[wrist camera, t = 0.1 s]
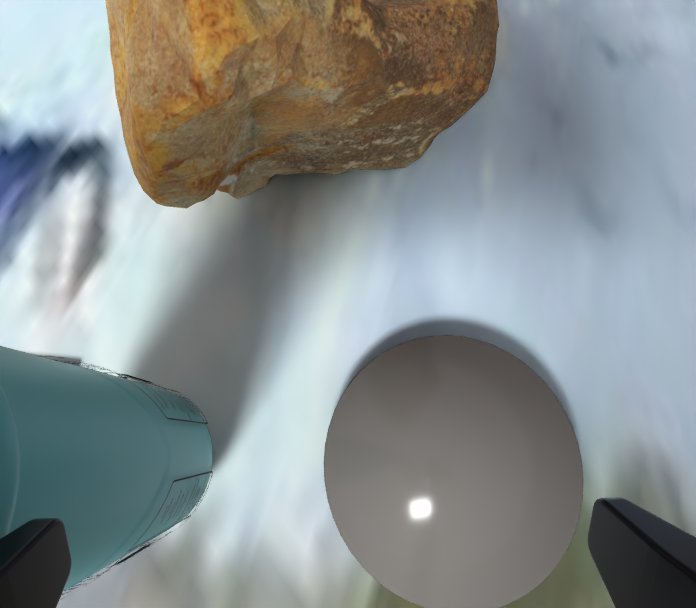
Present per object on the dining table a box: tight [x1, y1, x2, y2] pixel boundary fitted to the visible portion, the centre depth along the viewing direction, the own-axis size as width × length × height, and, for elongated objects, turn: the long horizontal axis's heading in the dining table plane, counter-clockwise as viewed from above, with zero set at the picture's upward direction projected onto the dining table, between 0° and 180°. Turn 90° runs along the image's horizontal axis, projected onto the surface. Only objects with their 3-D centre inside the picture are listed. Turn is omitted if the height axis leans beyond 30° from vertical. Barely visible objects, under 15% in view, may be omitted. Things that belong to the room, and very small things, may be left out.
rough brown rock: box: [105, 0, 499, 208], centre depth 21 cm, size 23×17×15 cm
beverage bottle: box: [0, 346, 213, 600], centre depth 12 cm, size 6×7×20 cm
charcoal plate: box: [324, 335, 583, 608], centre depth 22 cm, size 12×12×1 cm
